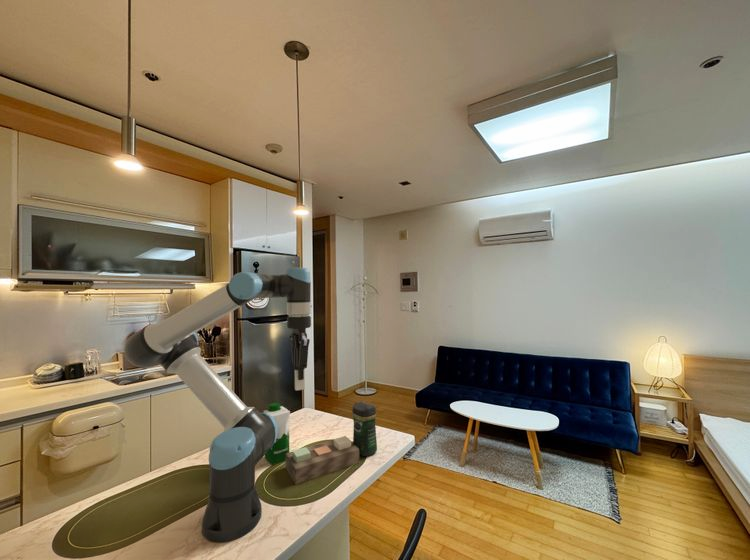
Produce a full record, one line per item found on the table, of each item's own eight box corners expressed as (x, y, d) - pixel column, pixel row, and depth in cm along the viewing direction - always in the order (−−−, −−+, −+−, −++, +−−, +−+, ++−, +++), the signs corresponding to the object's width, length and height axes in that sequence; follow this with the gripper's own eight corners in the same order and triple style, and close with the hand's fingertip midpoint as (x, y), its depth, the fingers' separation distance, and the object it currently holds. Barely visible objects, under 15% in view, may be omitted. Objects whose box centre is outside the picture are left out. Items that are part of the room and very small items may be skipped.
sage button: (296, 467, 108) (296, 456, 108) (292, 460, 112) (292, 450, 112) (310, 462, 111) (310, 452, 111) (306, 456, 115) (305, 446, 115)
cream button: (339, 454, 116) (339, 444, 116) (333, 448, 121) (333, 439, 121) (351, 450, 119) (351, 440, 119) (345, 444, 123) (345, 435, 123)
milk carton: (283, 450, 127) (282, 400, 128) (293, 459, 120) (292, 406, 121) (261, 457, 121) (261, 405, 122) (270, 467, 114) (270, 411, 115)
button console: (295, 484, 104) (295, 468, 104) (285, 467, 114) (285, 453, 114) (359, 462, 117) (359, 449, 117) (345, 449, 127) (345, 436, 127)
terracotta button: (318, 464, 112) (318, 454, 112) (313, 458, 116) (313, 449, 116) (331, 460, 115) (331, 450, 115) (326, 454, 119) (326, 445, 119)
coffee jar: (380, 451, 124) (379, 404, 125) (365, 459, 119) (364, 409, 120) (364, 443, 131) (363, 398, 132) (349, 450, 126) (349, 403, 127)
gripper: (317, 316, 98) (318, 392, 97) (303, 313, 109) (304, 382, 109) (293, 317, 94) (294, 397, 94) (282, 315, 105) (282, 386, 105)
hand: (299, 389), depth 101 cm, fingers closed
